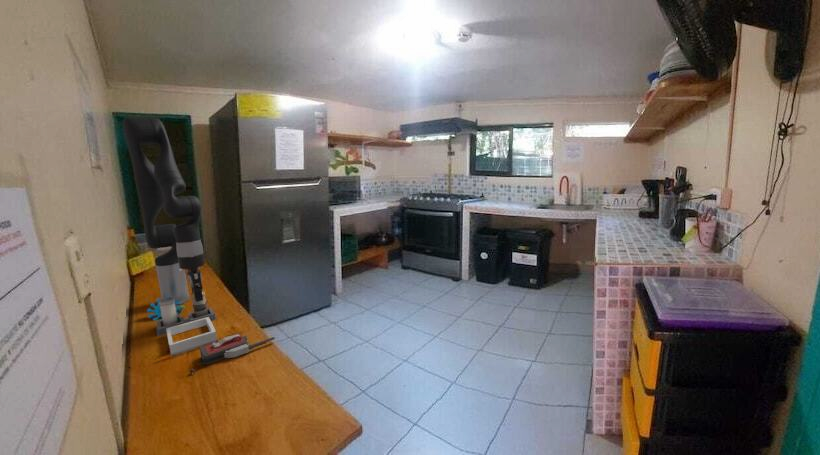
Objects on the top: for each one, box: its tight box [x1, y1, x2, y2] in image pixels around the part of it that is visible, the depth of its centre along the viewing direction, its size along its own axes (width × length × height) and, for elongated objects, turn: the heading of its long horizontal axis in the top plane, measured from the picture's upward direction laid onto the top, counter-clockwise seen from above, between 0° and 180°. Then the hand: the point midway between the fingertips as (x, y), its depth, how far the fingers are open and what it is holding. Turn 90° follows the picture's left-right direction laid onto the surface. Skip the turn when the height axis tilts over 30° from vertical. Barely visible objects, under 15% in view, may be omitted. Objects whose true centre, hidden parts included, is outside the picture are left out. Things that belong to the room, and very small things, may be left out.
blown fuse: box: [190, 290, 208, 318], centre depth 115 cm, size 4×4×10 cm
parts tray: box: [166, 317, 219, 357], centre depth 103 cm, size 14×12×4 cm
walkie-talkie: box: [198, 333, 276, 365], centre depth 96 cm, size 9×4×20 cm
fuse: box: [159, 298, 178, 327], centre depth 109 cm, size 4×4×10 cm
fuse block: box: [156, 307, 217, 337], centre depth 113 cm, size 17×9×3 cm, turn 130°
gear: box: [146, 297, 185, 322], centre depth 120 cm, size 11×6×10 cm
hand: (197, 297), depth 114 cm, fingers open, 8 cm apart
